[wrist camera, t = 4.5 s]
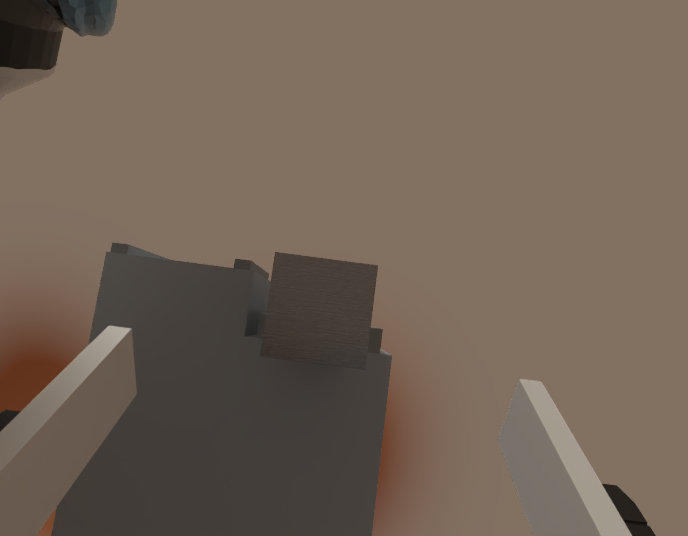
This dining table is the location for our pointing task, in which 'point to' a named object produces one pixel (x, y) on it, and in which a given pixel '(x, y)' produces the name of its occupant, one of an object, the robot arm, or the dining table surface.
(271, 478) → the stand
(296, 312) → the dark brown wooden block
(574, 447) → the robot arm
